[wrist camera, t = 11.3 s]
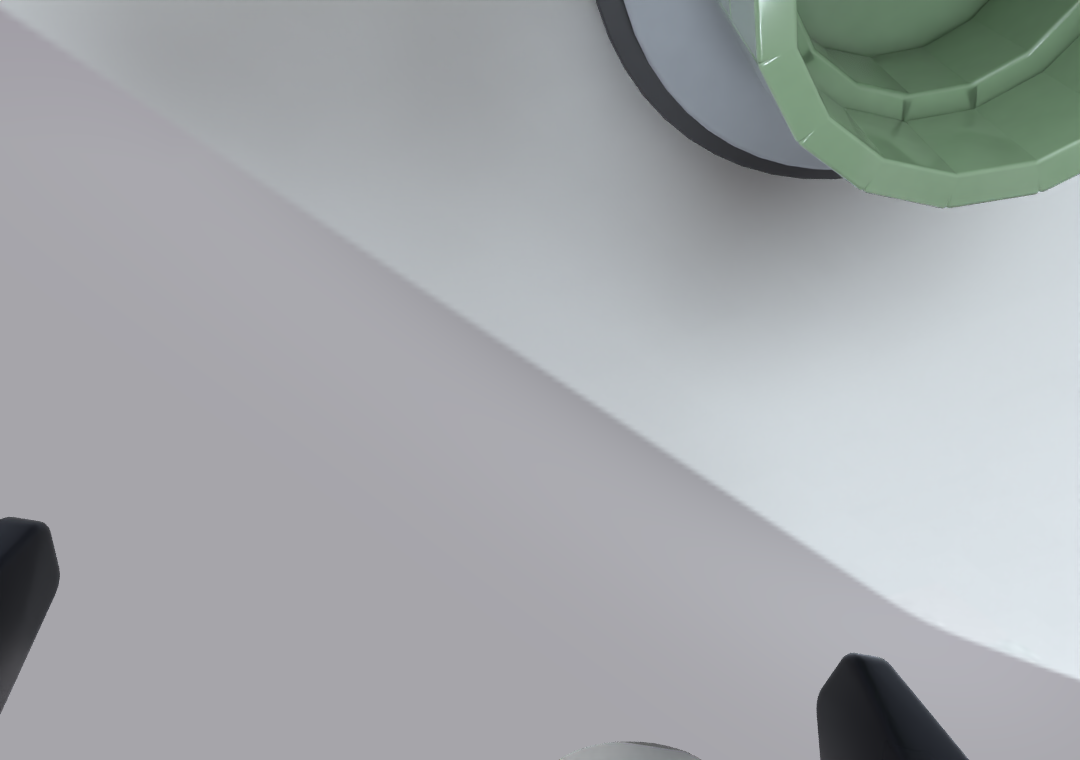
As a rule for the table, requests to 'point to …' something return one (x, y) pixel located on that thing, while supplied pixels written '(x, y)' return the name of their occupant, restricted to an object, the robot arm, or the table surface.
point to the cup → (924, 91)
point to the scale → (704, 83)
